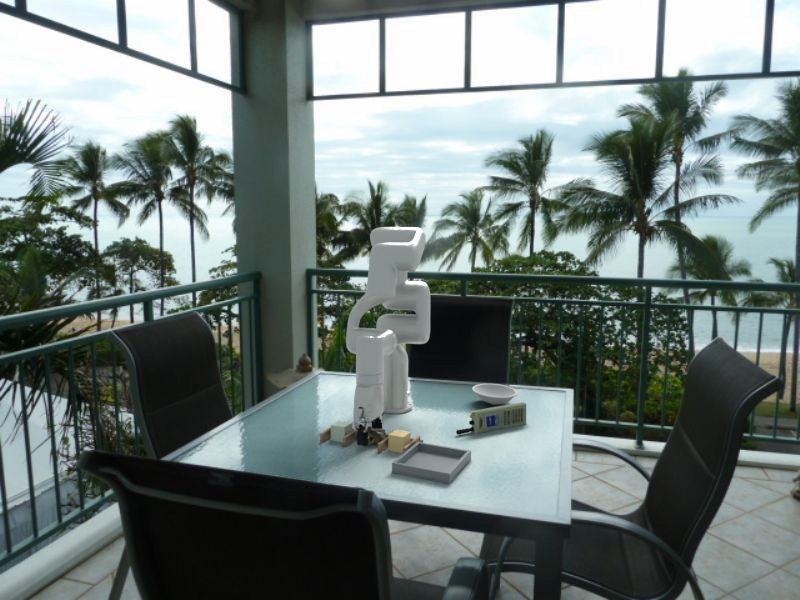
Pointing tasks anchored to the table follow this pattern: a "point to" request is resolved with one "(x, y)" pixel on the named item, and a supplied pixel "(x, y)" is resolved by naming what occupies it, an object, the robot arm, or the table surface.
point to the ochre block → (398, 440)
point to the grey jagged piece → (375, 435)
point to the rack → (353, 436)
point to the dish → (494, 393)
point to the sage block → (340, 430)
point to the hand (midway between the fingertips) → (369, 440)
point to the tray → (432, 462)
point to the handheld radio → (496, 418)
